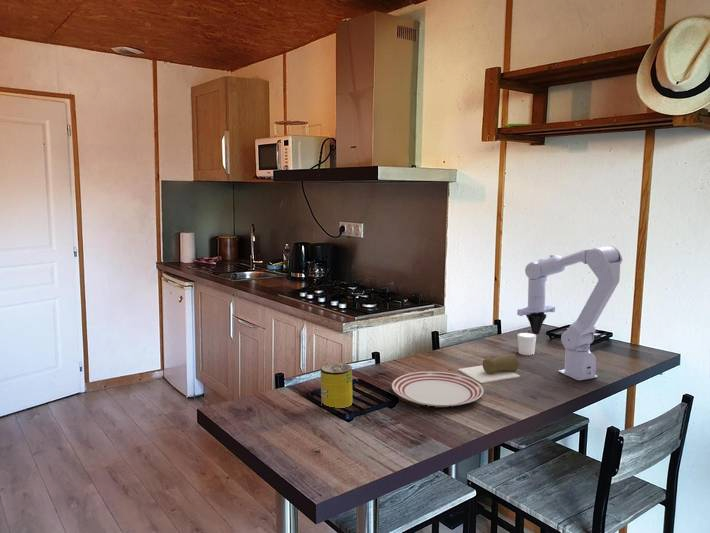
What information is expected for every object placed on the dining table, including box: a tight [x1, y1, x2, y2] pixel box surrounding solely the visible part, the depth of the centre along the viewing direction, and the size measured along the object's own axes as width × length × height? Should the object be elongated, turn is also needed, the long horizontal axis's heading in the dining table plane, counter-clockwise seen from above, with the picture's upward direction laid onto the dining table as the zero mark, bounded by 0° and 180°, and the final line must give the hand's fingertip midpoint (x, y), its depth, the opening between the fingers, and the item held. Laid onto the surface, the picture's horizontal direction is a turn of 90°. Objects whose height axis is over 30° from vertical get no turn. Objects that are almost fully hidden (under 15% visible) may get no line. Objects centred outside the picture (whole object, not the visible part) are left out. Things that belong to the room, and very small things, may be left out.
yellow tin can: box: [320, 362, 354, 408], centre depth 158 cm, size 9×9×12 cm
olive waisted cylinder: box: [482, 353, 519, 374], centre depth 184 cm, size 6×6×11 cm
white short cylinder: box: [517, 332, 537, 356], centre depth 206 cm, size 7×7×7 cm
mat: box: [457, 364, 521, 385], centre depth 184 cm, size 14×15×1 cm
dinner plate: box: [391, 371, 484, 408], centre depth 166 cm, size 28×27×3 cm
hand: (535, 333), depth 194 cm, fingers closed
